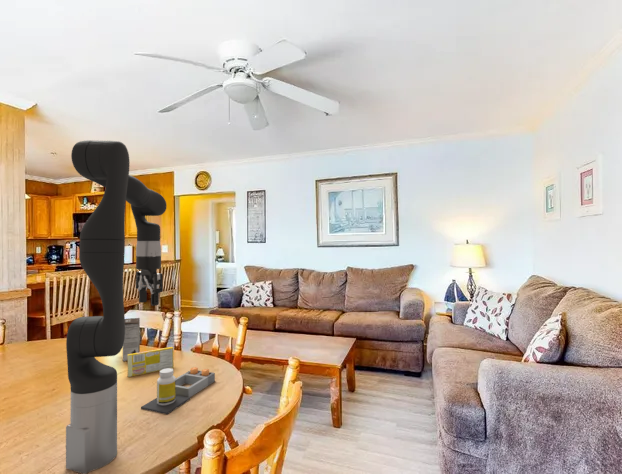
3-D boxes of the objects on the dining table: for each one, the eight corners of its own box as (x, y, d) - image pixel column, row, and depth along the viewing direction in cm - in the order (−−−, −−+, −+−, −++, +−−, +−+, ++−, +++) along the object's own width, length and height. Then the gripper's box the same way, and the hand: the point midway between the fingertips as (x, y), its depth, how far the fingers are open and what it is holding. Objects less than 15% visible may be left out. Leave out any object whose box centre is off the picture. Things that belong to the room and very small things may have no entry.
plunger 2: (206, 380, 121) (206, 372, 121) (200, 379, 122) (200, 371, 122) (210, 377, 123) (210, 369, 123) (204, 376, 124) (204, 368, 124)
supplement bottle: (178, 401, 107) (178, 370, 107) (161, 407, 103) (161, 375, 103) (170, 396, 110) (170, 365, 110) (153, 402, 106) (153, 370, 106)
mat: (167, 414, 100) (167, 412, 100) (140, 408, 103) (140, 406, 103) (190, 399, 109) (190, 397, 109) (165, 394, 113) (165, 392, 113)
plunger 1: (194, 378, 122) (194, 370, 122) (188, 377, 123) (188, 369, 123) (199, 375, 125) (199, 367, 125) (193, 375, 126) (193, 366, 126)
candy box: (172, 366, 138) (172, 346, 138) (173, 368, 136) (173, 347, 136) (127, 375, 129) (127, 353, 129) (127, 377, 127) (127, 355, 128)
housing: (188, 398, 110) (188, 388, 110) (164, 393, 114) (164, 384, 114) (214, 381, 123) (214, 372, 123) (192, 377, 127) (192, 369, 127)
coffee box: (123, 355, 152) (123, 318, 152) (139, 352, 155) (139, 317, 155) (122, 361, 144) (122, 323, 144) (139, 359, 146) (139, 321, 147)
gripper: (127, 254, 115) (127, 303, 114) (147, 255, 105) (147, 308, 105) (150, 253, 120) (150, 299, 120) (170, 254, 111) (170, 304, 111)
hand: (148, 303), depth 113 cm, fingers open, 8 cm apart
